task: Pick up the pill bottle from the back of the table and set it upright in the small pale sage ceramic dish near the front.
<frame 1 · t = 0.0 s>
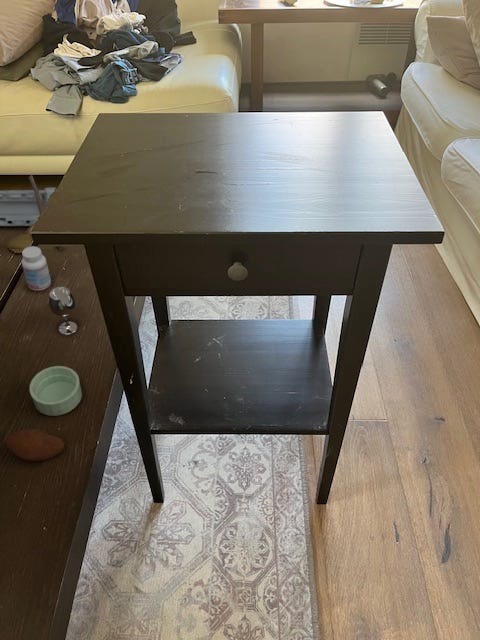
potato: (34, 247, 142), point 2 cm above the table
toy train: (21, 210, 146), point 7 cm above the table, touching natural artifact
wineglass: (68, 328, 125), on the table
potato 2: (37, 453, 101), on the table
natural artifact: (52, 200, 143), point 12 cm above the table, touching toy train
pill bottle: (40, 284, 136), on the table
dish: (58, 397, 111), on the table
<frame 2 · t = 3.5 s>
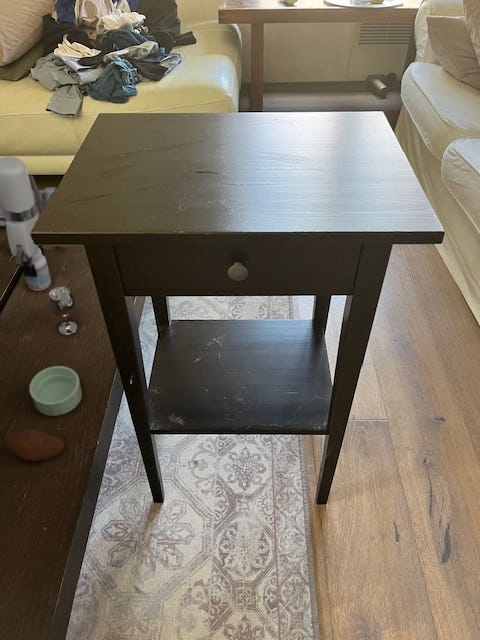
hand: (35, 267, 131), 6 cm above the table, tool pointing down, fingers closed on pill bottle, 6 cm apart
pill bottle: (40, 284, 136), on the table, touching gripper
everything else where it was.
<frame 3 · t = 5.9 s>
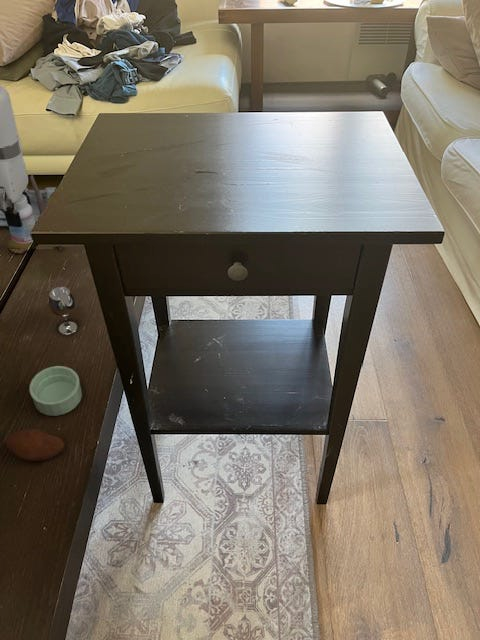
hand: (20, 217, 119), 22 cm above the table, tool pointing down, fingers closed on pill bottle, 6 cm apart
pill bottle: (25, 238, 123), point 16 cm above the table, touching gripper
everything else where it was.
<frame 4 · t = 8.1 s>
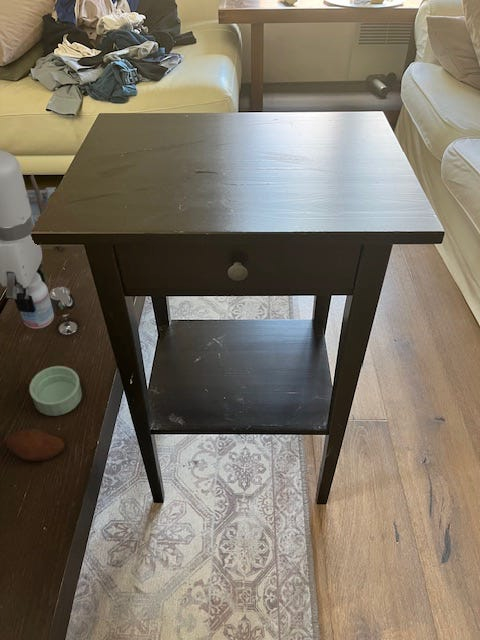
hand: (32, 298, 98), 24 cm above the table, tool pointing down, fingers closed on pill bottle, 6 cm apart
pill bottle: (39, 319, 103), point 18 cm above the table, touching gripper
everything else where it was.
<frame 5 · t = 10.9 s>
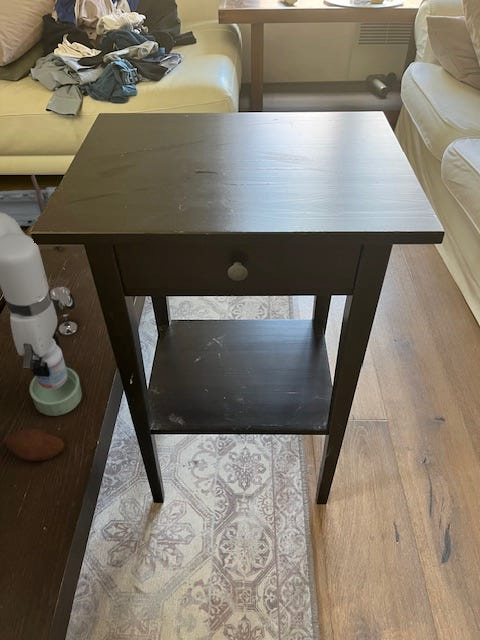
hand: (47, 361, 102), 13 cm above the table, tool pointing down, fingers closed on pill bottle, 6 cm apart
pill bottle: (53, 379, 106), point 7 cm above the table, touching gripper
everything else where it was.
when the fingers open (7 cm above the table, at t = 12.9 s): pill bottle stays where it is, resting on dish.
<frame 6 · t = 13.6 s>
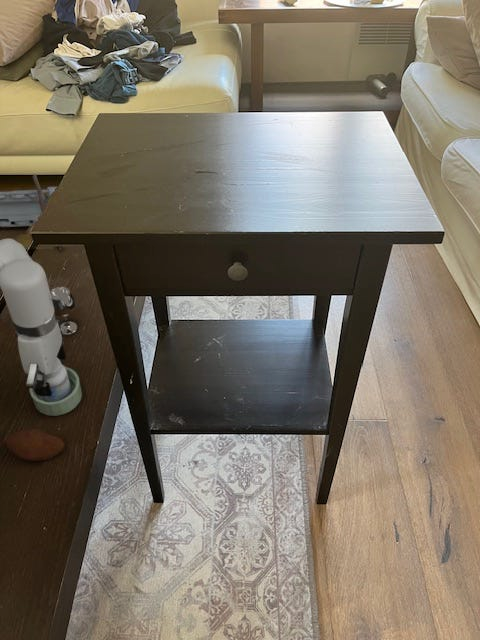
hand: (51, 375, 105), 8 cm above the table, tool pointing down, fingers open, 9 cm apart
pill bottle: (58, 396, 110), resting on dish
everything else where it was.
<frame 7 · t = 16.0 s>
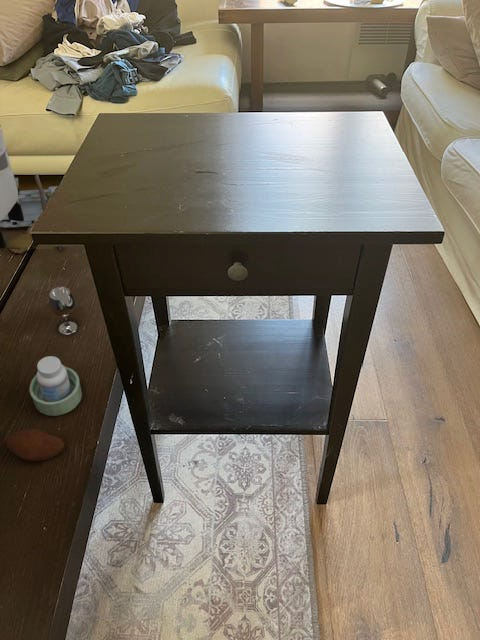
hand: (7, 233, 105), 28 cm above the table, tool pointing down, fingers open, 9 cm apart
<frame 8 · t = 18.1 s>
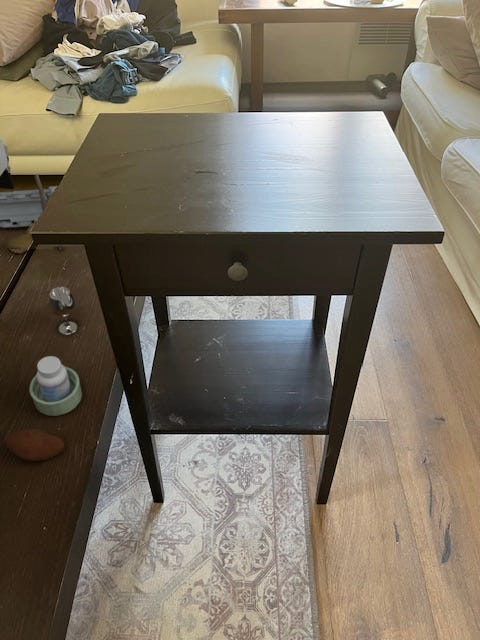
nothing on the table moved.
at the end: pill bottle 0.1 cm off-centre in the dish, point 0.4 cm above the dish's base; pill bottle tilted 0°; the gripper is holding nothing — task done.
